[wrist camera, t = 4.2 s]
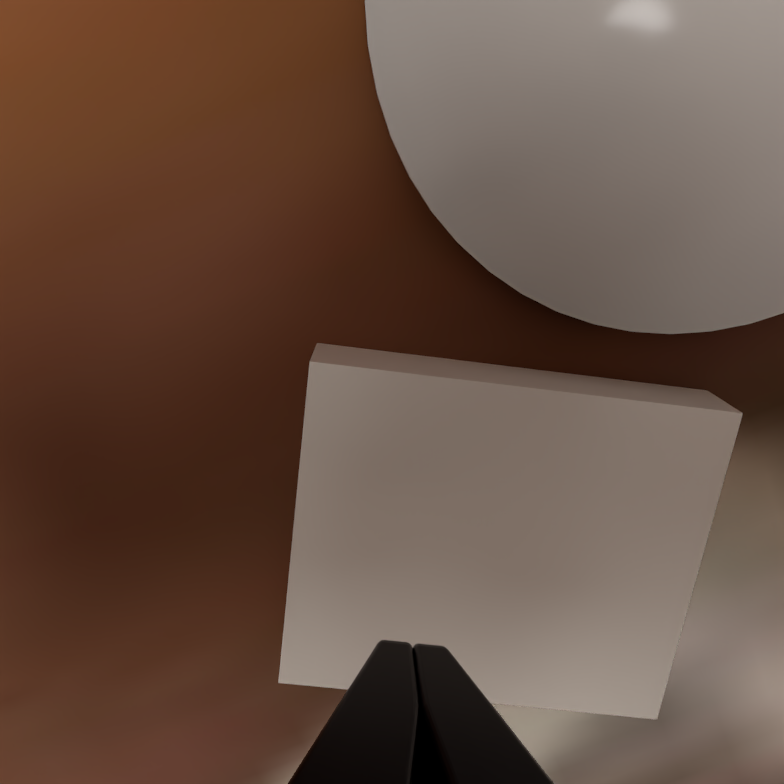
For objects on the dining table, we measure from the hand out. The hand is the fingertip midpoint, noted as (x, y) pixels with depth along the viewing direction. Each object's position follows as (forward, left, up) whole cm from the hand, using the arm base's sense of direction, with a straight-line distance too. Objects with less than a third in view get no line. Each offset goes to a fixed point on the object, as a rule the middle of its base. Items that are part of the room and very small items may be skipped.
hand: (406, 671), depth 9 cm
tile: (0, +2, -4) cm, 4 cm away
